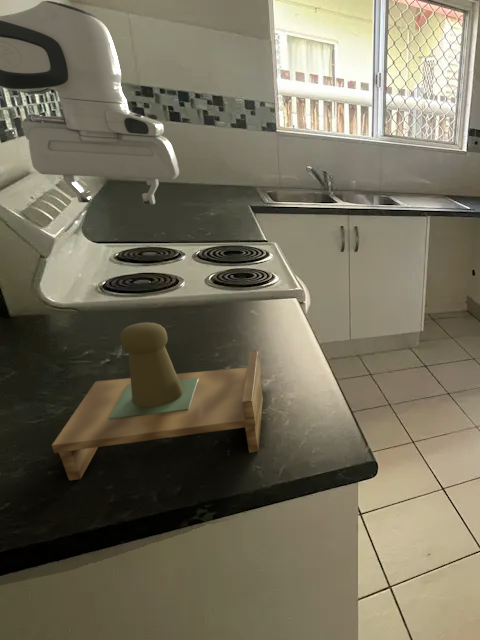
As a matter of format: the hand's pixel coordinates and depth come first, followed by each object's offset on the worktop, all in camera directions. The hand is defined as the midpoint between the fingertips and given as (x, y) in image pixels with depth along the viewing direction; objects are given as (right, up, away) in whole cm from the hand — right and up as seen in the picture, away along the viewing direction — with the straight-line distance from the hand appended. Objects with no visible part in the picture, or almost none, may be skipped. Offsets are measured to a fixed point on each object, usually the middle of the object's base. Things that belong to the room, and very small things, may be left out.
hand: (118, 202), depth 86 cm
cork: (+20, -33, -17) cm, 43 cm away
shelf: (+22, -39, -15) cm, 47 cm away
